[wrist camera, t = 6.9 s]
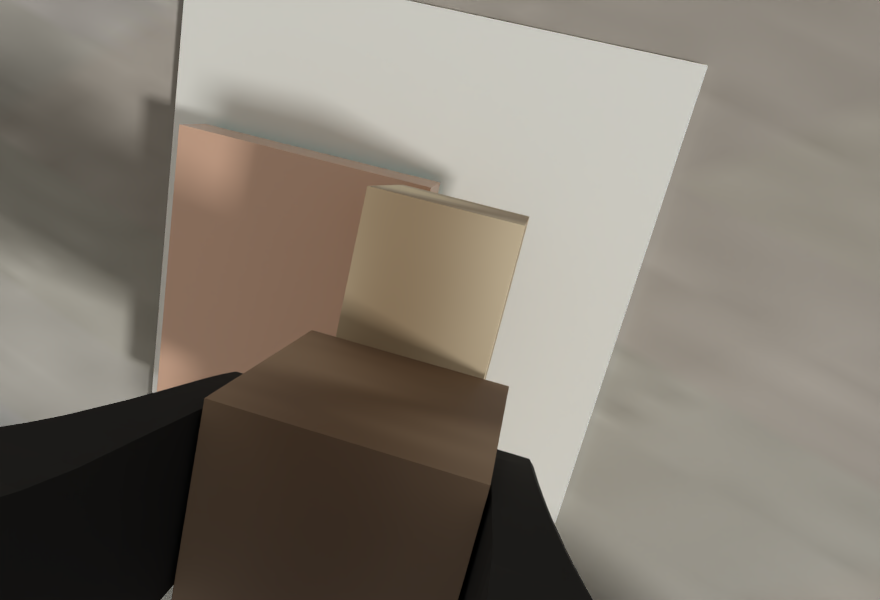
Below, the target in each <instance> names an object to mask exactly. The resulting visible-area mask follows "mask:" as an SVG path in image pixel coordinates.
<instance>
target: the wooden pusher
mask: <svg viewBox="0 0 880 600" xmlns="http://www.w3.org/2000/svg"><path fill="white" fill-rule="evenodd" d="M528 220H529V216H525V215H521V214H518V213H514V212H510V211H506V210H502V209H498V208H494V207H490V206H486V205H482V204H478V203H474V202H470V201H466V200H462V199H458V198H454V197H450V196H446V195H442V194H438V193H434V192H430V191H426V190H422V189H418V188H414V187H410V186H407V185H376V186H367V190H366V195H365V199H364V204H363V209H362V214H361V218H360V223H359V228H358V233H357V238H356V242H355V247H354V252H353V257H352V262H351V266H350V271H349V276H348V281H347V285H346V290H345V295H344V300H343V305H342V309H341V314H340V319H339V324H338V328H337V333H336V337H334V336H331V335H327V334H324V333H320V332H317V331H313V330H311V331H310V332H308V333H306V334H305V335H303V336H302V337H300V338H299V339H297V340H295V341H294V342H292V343H291V344H289V345H288V346H286V347H284V348H283V349H281V350H280V351H278V352H276V353H275V354H273V355H272V356H270V357H269V358H267V359H265V360H264V361H262V362H261V363H259V364H258V365H256V366H254V367H253V368H251V369H250V370H248V371H246V372H245V373H243V374H242V375H240V376H239V377H237V378H235V379H234V380H232V381H231V382H229V383H228V384H226V385H224V386H223V387H221V388H220V389H218V390H216V391H215V392H213V393H212V394H210V395H209V396H207V397H205V398H204V404H203V410H202V416H201V422H200V428H199V434H198V441H197V447H196V453H195V459H194V465H193V471H192V477H191V483H190V489H189V495H188V502H187V508H186V514H185V520H184V526H183V532H182V538H181V544H180V550H179V557H178V563H177V569H176V575H175V581H174V587H173V593H172V599H171V600H458V598H459V595H460V591H461V588H462V584H463V580H464V577H465V573H466V570H467V566H468V563H469V559H470V556H471V552H472V549H473V545H474V542H475V538H476V534H477V531H478V527H479V524H480V520H481V517H482V513H483V510H484V506H485V503H486V499H487V496H488V492H489V488H490V485H491V479H492V474H493V469H494V464H495V458H496V453H497V448H498V442H499V437H500V432H501V427H502V421H503V416H504V411H505V405H506V400H507V395H508V390H509V386H506V385H503V384H499V383H496V382H492V381H489V380H486V376H487V373H488V369H489V365H490V361H491V358H492V354H493V350H494V347H495V343H496V339H497V335H498V332H499V328H500V324H501V321H502V317H503V313H504V309H505V306H506V302H507V298H508V295H509V291H510V287H511V283H512V280H513V276H514V272H515V269H516V265H517V261H518V258H519V254H520V250H521V246H522V243H523V239H524V235H525V232H526V228H527V224H528Z"/></svg>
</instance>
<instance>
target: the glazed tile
mask: <svg viewBox="0 0 880 600" xmlns="http://www.w3.org/2000/svg"><path fill="white" fill-rule="evenodd" d="M376 185H407V186H410V187H414V188H418V189H422V190H426V191H430V192H434V193H438V192H439V187H440V182H436V181H432V180H428V179H424V178H420V177H416V176H412V175H408V174H404V173H400V172H396V171H392V170H388V169H384V168H380V167H376V166H372V165H368V164H364V163H360V162H356V161H352V160H349V159H345V158H341V157H337V156H333V155H329V154H325V153H321V152H317V151H313V150H309V149H305V148H301V147H297V146H293V145H289V144H285V143H281V142H277V141H273V140H269V139H265V138H261V137H257V136H253V135H249V134H245V133H241V132H237V131H233V130H229V129H225V128H221V127H217V126H213V125H209V124H179V133H178V145H177V157H176V169H175V181H174V193H173V205H172V217H171V229H170V241H169V252H168V264H167V276H166V288H165V300H164V312H163V324H162V336H161V348H160V360H159V371H158V383H157V392H158V391H162V390H165V389H169V388H172V387H176V386H179V385H183V384H186V383H190V382H193V381H197V380H201V379H204V378H208V377H212V376H216V375H220V374H224V373H230V372H240V373H245V372H246V371H248V370H250V369H251V368H253V367H254V366H256V365H258V364H259V363H261V362H262V361H264V360H265V359H267V358H269V357H270V356H272V355H273V354H275V353H276V352H278V351H280V350H281V349H283V348H284V347H286V346H288V345H289V344H291V343H292V342H294V341H295V340H297V339H299V338H300V337H302V336H303V335H305V334H306V333H308V332H310V331H311V330H313V331H317V332H320V333H324V334H327V335H331V336H334V337H336V333H337V328H338V324H339V319H340V314H341V309H342V305H343V300H344V295H345V290H346V285H347V281H348V276H349V271H350V266H351V262H352V257H353V252H354V247H355V242H356V238H357V233H358V228H359V223H360V218H361V214H362V209H363V204H364V199H365V195H366V190H367V186H376Z"/></svg>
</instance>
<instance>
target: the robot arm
mask: <svg viewBox="0 0 880 600" xmlns="http://www.w3.org/2000/svg"><path fill="white" fill-rule="evenodd" d="M242 374H243V373H240V372H230V373H224V374H220V375H216V376H212V377H208V378H204V379H201V380H197V381H193V382H190V383H186V384H183V385H179V386H176V387H172V388H169V389H165V390H162V391H158V392H155V393H151V394H147V395H144V396H140V397H137V398H133V399H130V400H126V401H121V402H117V403H113V404H109V405H105V406H101V407H97V408H93V409H89V410H85V411H80V412H76V413H72V414H68V415H64V416H59V417H54V418H49V419H44V420H39V421H33V422H28V423H22V424H16V425H10V426H4V427H0V600H161V599H162V597H163V596H164V595H165V594H166V593H167V592H168V590H169V589H170V588H171V587H172V586H173V585H174V581H175V575H176V569H177V563H178V557H179V550H180V544H181V538H182V532H183V526H184V520H185V514H186V508H187V502H188V495H189V489H190V483H191V477H192V471H193V465H194V459H195V453H196V447H197V441H198V434H199V428H200V422H201V416H202V410H203V404H204V398H205V397H207V396H209V395H210V394H212V393H213V392H215V391H216V390H218V389H220V388H221V387H223V386H224V385H226V384H228V383H229V382H231V381H232V380H234V379H235V378H237V377H239V376H240V375H242ZM458 600H593V599H592V598H591V596H590V594H589V592H588V591H587V589H586V587H585V585H584V583H583V582H582V580H581V578H580V576H579V574H578V572H577V570H576V568H575V567H574V565H573V563H572V561H571V559H570V557H569V555H568V553H567V551H566V549H565V546H564V544H563V542H562V540H561V537H560V535H559V533H558V531H557V529H556V526H555V524H554V522H553V520H552V517H551V515H550V512H549V510H548V507H547V505H546V502H545V499H544V497H543V494H542V491H541V488H540V486H539V483H538V480H537V476H536V473H535V470H534V466H533V465H532V463H531V461H530V459H528V458H525V457H522V456H518V455H515V454H512V453H508V452H505V451H502V450H498V449H497V453H496V458H495V464H494V469H493V474H492V479H491V485H490V488H489V492H488V496H487V499H486V503H485V506H484V510H483V513H482V517H481V520H480V524H479V527H478V531H477V534H476V538H475V542H474V545H473V549H472V552H471V556H470V559H469V563H468V566H467V570H466V573H465V577H464V580H463V584H462V588H461V591H460V595H459V598H458Z"/></svg>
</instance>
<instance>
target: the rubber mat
mask: <svg viewBox="0 0 880 600" xmlns="http://www.w3.org/2000/svg"><path fill="white" fill-rule="evenodd" d="M707 67H708V65H703V64H699V63H694V62H690V61H685V60H680V59H676V58H671V57H667V56H662V55H657V54H653V53H648V52H643V51H639V50H634V49H630V48H625V47H620V46H616V45H611V44H607V43H602V42H597V41H593V40H588V39H584V38H579V37H574V36H570V35H565V34H560V33H556V32H551V31H547V30H542V29H537V28H533V27H528V26H524V25H519V24H514V23H510V22H505V21H500V20H496V19H491V18H487V17H482V16H477V15H473V14H468V13H464V12H459V11H454V10H450V9H445V8H440V7H436V6H431V5H427V4H422V3H417V2H413V1H408V0H184V4H183V16H182V29H181V41H180V53H179V66H178V78H177V90H176V103H175V115H174V127H173V140H172V152H171V164H170V177H169V189H168V201H167V214H166V226H165V238H164V250H163V263H162V275H161V287H160V300H159V312H158V324H157V337H156V349H155V361H154V374H153V386H152V393H155V392H157V383H158V371H159V360H160V348H161V336H162V324H163V312H164V300H165V288H166V276H167V264H168V252H169V241H170V229H171V217H172V205H173V193H174V181H175V169H176V157H177V145H178V133H179V124H209V125H213V126H217V127H221V128H225V129H229V130H233V131H237V132H241V133H245V134H249V135H253V136H257V137H261V138H265V139H269V140H273V141H277V142H281V143H285V144H289V145H293V146H297V147H301V148H305V149H309V150H313V151H317V152H321V153H325V154H329V155H333V156H337V157H341V158H345V159H349V160H352V161H356V162H360V163H364V164H368V165H372V166H376V167H380V168H384V169H388V170H392V171H396V172H400V173H404V174H408V175H412V176H416V177H420V178H424V179H428V180H432V181H436V182H440V187H439V192H438V194H442V195H446V196H450V197H454V198H458V199H462V200H466V201H470V202H474V203H478V204H482V205H486V206H490V207H494V208H498V209H502V210H506V211H510V212H514V213H518V214H521V215H525V216H529V220H528V224H527V228H526V232H525V235H524V239H523V243H522V246H521V250H520V254H519V258H518V261H517V265H516V269H515V272H514V276H513V280H512V283H511V287H510V291H509V295H508V298H507V302H506V306H505V309H504V313H503V317H502V321H501V324H500V328H499V332H498V335H497V339H496V343H495V347H494V350H493V354H492V358H491V361H490V365H489V369H488V373H487V376H486V380H489V381H492V382H496V383H499V384H503V385H506V386H509V390H508V395H507V400H506V405H505V411H504V416H503V421H502V427H501V432H500V437H499V442H498V448H497V449H498V450H502V451H505V452H508V453H512V454H515V455H518V456H522V457H525V458H528V459H530V461H531V463H532V465H533V466H534V470H535V473H536V476H537V480H538V483H539V486H540V488H541V491H542V494H543V497H544V499H545V502H546V505H547V507H548V510H549V512H550V515H551V517H552V520H553V522H554V524H555V522H556V519H557V516H558V513H559V510H560V507H561V504H562V501H563V498H564V495H565V492H566V489H567V486H568V483H569V480H570V477H571V474H572V471H573V468H574V465H575V462H576V459H577V456H578V453H579V450H580V447H581V444H582V441H583V438H584V435H585V432H586V429H587V426H588V423H589V420H590V417H591V414H592V411H593V408H594V405H595V402H596V399H597V396H598V393H599V390H600V387H601V384H602V381H603V378H604V375H605V372H606V369H607V366H608V363H609V360H610V357H611V354H612V351H613V348H614V345H615V342H616V339H617V337H618V334H619V331H620V328H621V325H622V322H623V319H624V316H625V313H626V310H627V307H628V304H629V301H630V298H631V295H632V292H633V289H634V286H635V283H636V280H637V277H638V274H639V271H640V268H641V265H642V262H643V259H644V256H645V253H646V250H647V247H648V244H649V241H650V238H651V235H652V232H653V229H654V226H655V223H656V220H657V217H658V214H659V211H660V208H661V205H662V202H663V199H664V196H665V193H666V190H667V187H668V184H669V181H670V178H671V175H672V172H673V169H674V166H675V163H676V160H677V157H678V154H679V151H680V148H681V145H682V142H683V139H684V136H685V133H686V130H687V127H688V124H689V121H690V118H691V115H692V112H693V109H694V106H695V103H696V100H697V97H698V94H699V91H700V88H701V85H702V82H703V79H704V76H705V73H706V70H707Z"/></svg>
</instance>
